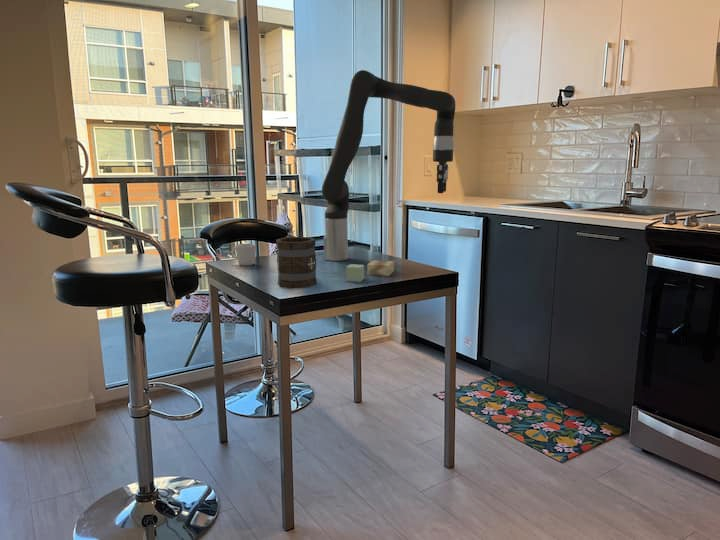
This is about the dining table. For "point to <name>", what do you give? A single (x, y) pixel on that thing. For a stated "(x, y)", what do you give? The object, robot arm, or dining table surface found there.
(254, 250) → the cup
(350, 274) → the sage cube
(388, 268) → the maple block
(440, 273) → the dining table surface
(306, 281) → the mug
